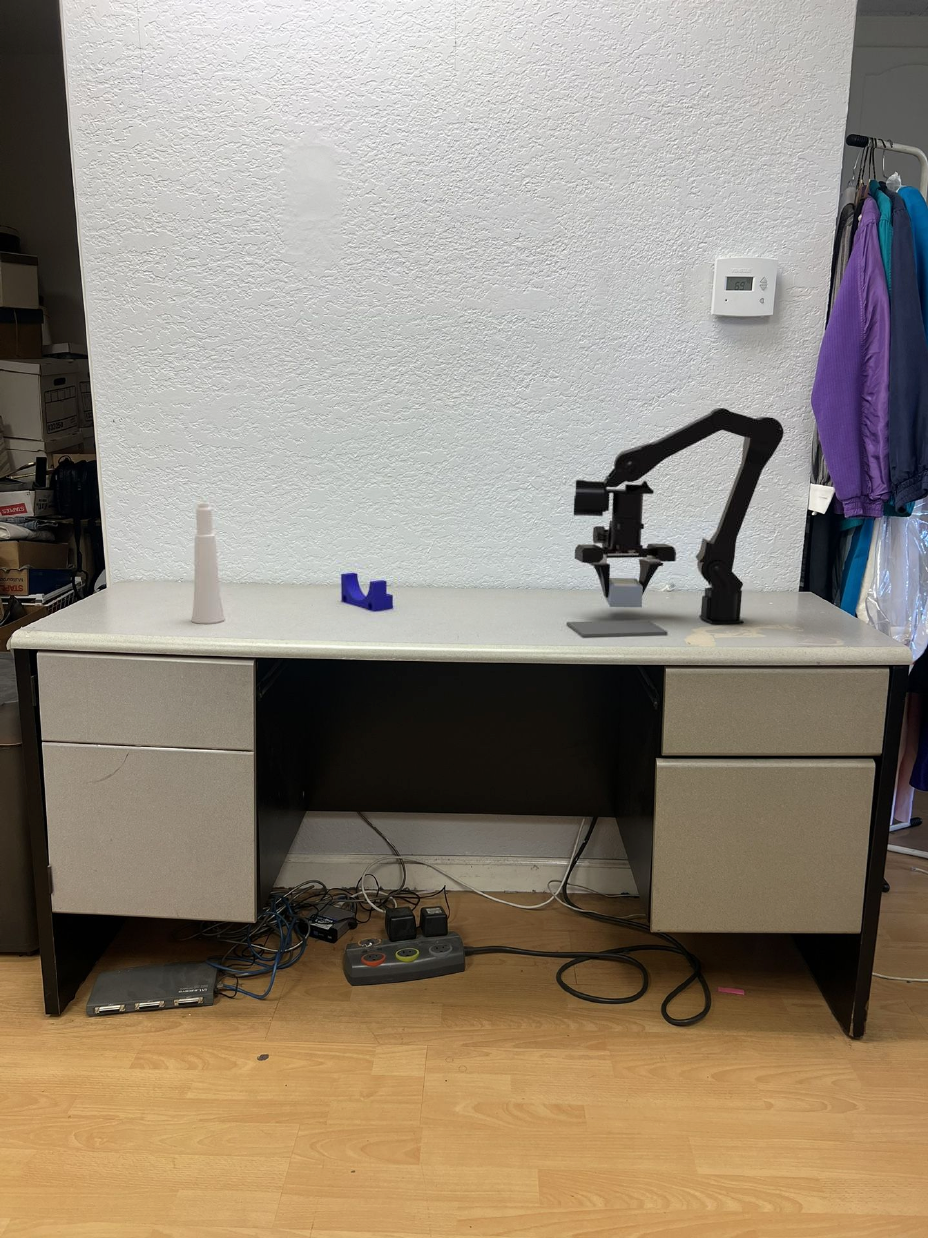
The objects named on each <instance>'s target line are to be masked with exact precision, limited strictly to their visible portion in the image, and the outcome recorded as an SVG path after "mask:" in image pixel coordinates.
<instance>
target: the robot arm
mask: <svg viewBox="0 0 928 1238" xmlns="http://www.w3.org/2000/svg"><path fill="white" fill-rule="evenodd" d="M720 431H721V432H722V431H725V432H727V433H731V434H733V435H736V436H737V435H738V436H740V437H743V438H744V439H743V444H742V453H741V454H742V455H741V463H740V465H739V468H738V471H737V473H736V476H735V479H734V481H733V484H732V487H731V489H730V492H729V495H728V498H727V501H726V503H725V506H724V509H723V511H722V514H721V517H720V519H719V522H718V524H717V525H718V526H717V527H716V530H715V532H714V534H713V535H712V536H711V538H709V540H708V539H707V538H705V537H703V538H702V540H701V544H700V549H699V550H698V553H697V554H696V555H695V559H696V560H697V563H696V567H697V569H698V572H699V573H700V575H701V577H702V578H703V579H704V580H705V581H706V582H707V584H708V585H709V586H710V587H704V595H702V597H701V606H700V607H701V608H700V614H699V615H698V616H699V618H700V619H702V620H704V621H706V622H708V623H710V624H711V625H720V624H721V625H727V624H744V622H745V621H744V620H743V619H742V618H741V609H742V594H743V590H742V587H743V586H744V582H742V580H741V579H739V577H738V575H736V574H735V573H734V572H733V568H734V563H735V555H736V546H737V545H736V544H737V538H738V536H739V533H740V531H741V527H742V525H743V522H744V520H745V518H746V515H747V512H748V510H749V507H750V504H751V502H752V498H753V497H754V493H755V491H756V488H757V485H758V482H759V480H760V477H761V474H762V473H763V470H764V468H765V467H766V465H767V464H768V462H769V461H770V459H771V458H772V456H774V454H775V452H776V450H777V449H778V447H779V445H780V444H781V442H782V440H783V437H784V433H785V432H784V428H783V425H782V424H781V422H780V421H779V420H778V419H776V418H773V417H770V416H758V417H756V418H754V417H750V416H747V415H745V414H744V415H743V414H740V413H737V412H733V411H730V410H729V409H727V408H724V407H717V408H714V409H713V410H711V411H710V412H709V413H707V414H705V415H704V416H701V417H699V418H697V419H695V420H694V421H692V422H690V423H688V424H686V425H684V426H682V427H680V428H678V429H676V430H675V431H671V432H670V433H668V434H666V435H665V436H663V437H660V438H659V439H657V440H654V441H652V442H647V443H644V444H641V445H638V446H634V447H632V448H629V449H626V450H623V451H622V450H621V452H620V453H618V454H617V455H616V456H615V459H614V461H613V468H612V470H611V471H610V472H609V473H608V475H607V476H606V475H605V479H604V480H602V481H600V480H599V481H598V480H584V479H576V480H575V494H574V495H573V498H574V499H573V516H575V517H576V516H577V517H578V516H581V517H582V516H583V517H584V516H586V517H587V516H588V517H603V516H604V515H603V514H604V513H606V512H609V510H610V494H612V507H611V520H609V525H608V528H607V529H606V528H605V526H604V525H603V526H602V525H596V526H594V527H593V529H592V530H593V531H592V542H593V543H592V544H577V546H576V547H575V548H574V560H577V561H578V562H581V563H583V564H588V565H590V566H593V568H594V570H595V572H596V574H597V577H598V581H599V583H600V586H601V589H602V590H601V591H602V593H603V596H604V598H608V594H609V580H610V578H611V577H610V575H611V573H610V572H611V564H609V563H607V561H608V560H607V559H622V558H623V559H624V558H625V559H627V558H632V559H633V558H636V559H638V558H639V559H638V563H639V577H638V581H639V583H640V584H641V585H642V586H643V592H642V596H643V595H644V593H645V591H646V589H647V587H648V585H649V583H650V581H651V580H652V577H654V575H655V573H656V572H657V570H658V568H659V567H664V562H665V563H666V562H668V563H669V562H676V561H677V560H676V559H677V551H676V549H675V547H674V546H672V545H670V544H668V543H665V542H663V543H647V546H646V547H644V545H642V544H641V543H642V530H644V529H645V524H644V523H643V510H644V509H643V506H644V505H643V503H644V495H653V494H654V492H655V491H654V489H652V488H651V487H650V486H649V484H648V482H647V481H646V480H643V481H642V482H641V483H640V484H638V483H636V484H633V483H634V482H637V481H638V480H640V479H641V478H643V477H644V476H645V475H647V474H648V473H650V472H651V471H652V470H653V469H654V468H656V467H658V465H659V464H660V463H662V462H664V461H665V460H666V459H667V458H669V457H672V456H673V455H675V454H677V453H679V452H682V451H683V450H685V449H687V448H688V447H691V446H693V445H694V444H697V443H698V442H701V441H702V440H705V439H707V438H709V437H710V436H712V435H715V434H716V433H718V432H720ZM625 482H626V483H627V484H624V483H625ZM630 483H632V484H630ZM622 484H624V485H625V486H624V488H619V489H618V488H617V487H619V486H620V485H622ZM598 544H601V546H599V545H598Z"/></svg>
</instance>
